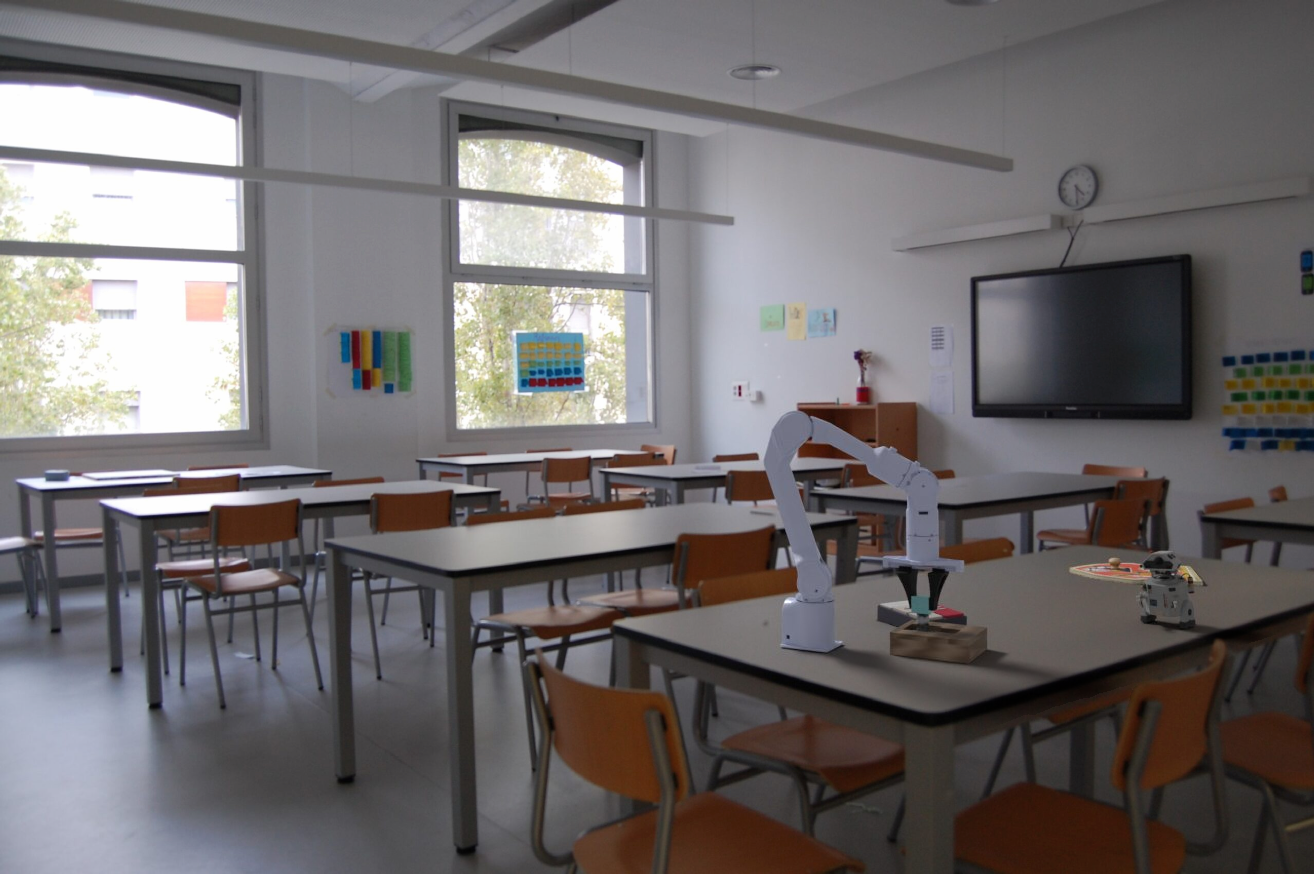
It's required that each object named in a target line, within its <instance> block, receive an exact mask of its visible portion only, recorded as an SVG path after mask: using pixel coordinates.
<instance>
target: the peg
mask: <svg viewBox="0 0 1314 874" xmlns="http://www.w3.org/2000/svg"><path fill="white" fill-rule="evenodd" d="M933 612H934V611H930V594H920V593H917V594H916V595H913V596H911V613H917V630H913V631H922V632H932V633H933V632H934V631H931V630H929V614H931V613H933Z"/></svg>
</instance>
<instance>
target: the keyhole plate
mask: <svg viewBox="0 0 1314 874" xmlns="http://www.w3.org/2000/svg"><path fill="white" fill-rule="evenodd" d="M913 630H917V620H911V621H909V622H907V623H905V624H903V625H902V626H900V627H896V628H894V629H893V630H891V631H890V632H889V654H890V655H891V656H892V655H893V656H902V657H909V658H917V659H924V660H925V659H926V660H934V661H944V662H951V663H957V664H958V663H960V664H968V665H969V664H970V663H971V662H973V661H974V660H975V659H976V658H978V657H979V656H980V655H982V654H983V653H984V652H986V650H988V627H987V626H978V625H977V626H976V625H959V624H949V623H939V622H929V630H931V631H934V632H933V633H932V632H922V631H913Z"/></svg>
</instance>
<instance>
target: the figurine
mask: <svg viewBox="0 0 1314 874" xmlns="http://www.w3.org/2000/svg"><path fill="white" fill-rule="evenodd" d="M1149 553H1150V554H1149V555H1148V556H1147V557H1145V558H1144V560H1143V561H1142V562H1141V563H1140V564H1141V565H1140V568H1141V567H1143V569H1144V570H1150V573H1151V575H1152V576H1151V577H1150V578H1148V579H1146V580H1145V581H1143V583H1142V584H1141V586H1140V587H1141V590H1142V591H1140V592H1139V595H1135V598H1136V603H1137V605H1138V607H1139V608H1140V607H1141V615H1140V619H1139V621H1140V622H1141V623H1145V624H1148V623H1150V622H1154V621H1156V620H1157V617H1158V616H1159V617H1163V618H1174V617H1175V618H1176V617H1180V620H1179V622H1178V628H1180V629H1181V630H1189V629H1192V628H1194V627H1195V626H1196V623H1197V622H1196V618H1195V609H1194V604H1193V602H1192V600H1190V599H1189V594H1190V595H1191V594H1195V589H1194V587H1195V586H1193V577H1190V575H1189V574H1188V575H1189V577H1187V578H1188V580H1186V579H1185V578H1184V577H1182V576H1183V575H1185V574H1187V573H1185V574H1183V575H1182V576H1176V574H1177V572H1178V571H1177V569H1179V568H1180V566H1182V560H1181V559H1180V556H1179V555H1178V553H1176V552H1175V550H1158V551H1155V552H1154V551H1153V550H1151V549H1150V551H1149ZM1172 573H1174V575H1172ZM1187 581H1188V585H1187Z"/></svg>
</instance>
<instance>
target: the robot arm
mask: <svg viewBox="0 0 1314 874" xmlns="http://www.w3.org/2000/svg"><path fill="white" fill-rule="evenodd" d="M810 437H811V444H829V445H831V446H832V447H833V448H836V449H838V450H840V451H842V452H844V453H846V454H847V455H849V456H851V457H854V458H855V459H857V460H859V461H861V462H863V463H865V467H866V469H867V472H868V474H870V476H873V477H875V478H877V479H878V480H880V481H882V482H884V483H886V484H888V485H890V486H891V487H893V488H895V489H897V490H898V491H900V490H901V491H902V490H904V491H905V493H906V494H907V496H906V500H907V503H906V504H907V505H906V507H907V508H906V510H905V518H906V519H905V521H906V522H905V524H906V525H905V527H906V528H905V529H906V533H905V535H906V536H905V537H906V538H905V539H906V540H905V541H906V546H905V547H906V555H885V556H883V557H882V568H887V569H888V568H898V570H897V571H896V575H897V577H898V579H899V580H900V582H901V584H902V587H903V589H904V592H905V595H906V598H907V600H908V603H909V608H910V609H911V596H913V595H916V594H918V592H917V587H918V585H917V584H918V573H919V570H927V571H929V572H927V577H928V578H927V579H928V586H929V595H930V611H935V610H937V607H938V605H939V601H940V597H941V593H942V590H943V587H944V585H945V584H946V581H947V579H948V577H949V574H950V572H955V573H961V574H962V573H963V572H965V560H961V559H960V560H959V559H950V558H943V557H940V544H939V543H940V542H939V541H940V540H939V535H940V533H939V532H940V531H939V530H940V529H939V526H940V525H939V523H940V522H939V509H938V506H939V505H938V504H939V501H938V500H939V499H938V495H939V494H940V491H941V485H940V481H939V479H938V477H937V476H936V474H935V473H934V472H932V471H931V470H929V469H928V468H927V467H923V466H922V467H921V463H920V462H919V461H917V460H915V461H912V460H910V459H908V458H906V457H905V456H903V455H901V454H899V453H898V449H897V448H895V447H894V446H890V447H889V448H888V447H887V446H884V445H883V446H880V447H875V448H873V447H871V446H870V445H868V444H866V443H865V442H863V441H861V440H860V439H858V438H857V437H855V436H853V435H851V434H850V433H848V432H847V431H844V429H841V428H840V427H837V426H836V425H834V424H833V423H831V422H828V421H826V420H823V419H820V418H818V417H816V416H813V415H811V416H809V415H808V414H807V413H805V412H804V411H800V410H791V411H787V412H785V413H783V414H782V415H781V416H780V417H779V418H778V420H777V421H776V423H775V424H774V425H773V427H772V429H771V432H770V436H769V440H768V444H767V447H766V451H765V453H764V457H763V466H764V467H763V468H764V470H765V473H766V475H767V478H768V481H769V485H770V488H771V491H772V493H773V496H774V500H775V503H776V506H777V509H778V512H779V515H780V518H781V521H782V524H783V527H784V530H785V533H786V536H787V539H788V542H789V546H790V548H791V550H792V555H793V559H794V563H795V567H796V571H797V580H796V587H797V590H798V592H797V593H796V594H795V597H792V596H789V597H787V598H785V600H784V601H783V605H782V608H781V644H779V646H780V648H785V649H794V650H795V649H796V650H801V651H803V650H804V651H811V652H817V653H818V652H819V653H820V652H821V653H829V652H831V651H833V650H835V649H836V648H838V647H840V646H842V645H843V644H844V641H842V640H836V608H835V607H836V602H835V601H836V598H835V597H836V596H835V595H834V594H832V593H831V590H832V587H833V583H832V582H833V581H832V579H833V574H832V570H831V566H829V565H828V564H827V563H826V562H825V561H824V560H823V558H822V555H821V553H820V549H819V548H818V545H817V543H816V540H815V536H814V534H813V531H812V527H811V525H810V521H809V519H808V515H807V512H806V510H805V506H804V504H803V501H802V497H801V494H800V492H799V489H798V486H797V483H796V479H795V477H794V473H793V471H792V466H791V463H792V461H793V459H794V458H795V455H796V454H797V452H798V450H799V448H800V447H802V446H803V444H804V443H806V441H807V440H809V438H810Z"/></svg>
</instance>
